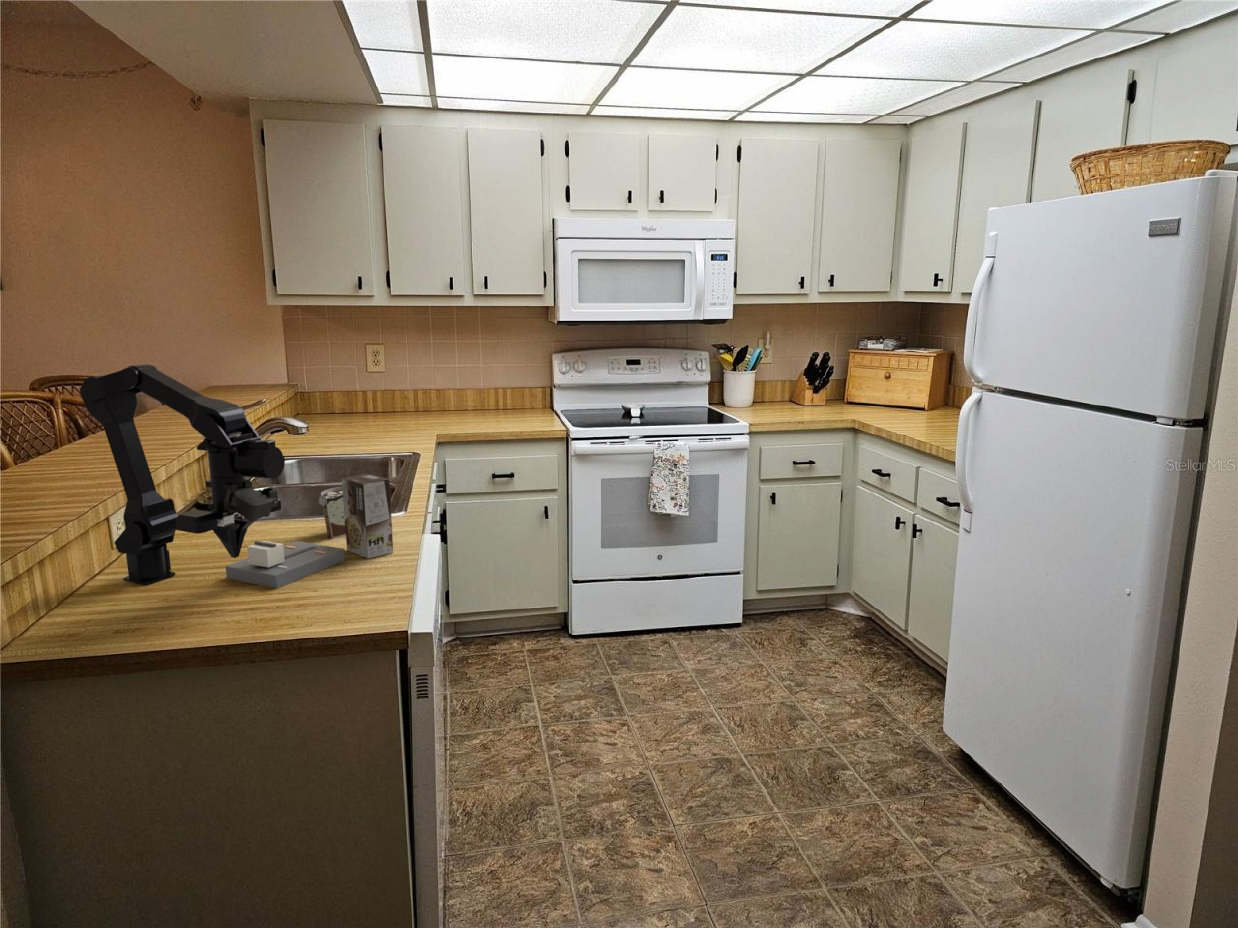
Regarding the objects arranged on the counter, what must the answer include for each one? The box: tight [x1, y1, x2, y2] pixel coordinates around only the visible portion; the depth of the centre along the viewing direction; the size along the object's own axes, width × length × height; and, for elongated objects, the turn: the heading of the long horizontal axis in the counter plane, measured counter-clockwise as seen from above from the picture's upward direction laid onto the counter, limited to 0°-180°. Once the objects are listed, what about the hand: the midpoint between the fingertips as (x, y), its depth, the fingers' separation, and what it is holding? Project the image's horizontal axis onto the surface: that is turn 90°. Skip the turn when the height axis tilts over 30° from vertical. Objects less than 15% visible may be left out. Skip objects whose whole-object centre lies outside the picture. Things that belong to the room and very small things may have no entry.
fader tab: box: [247, 540, 285, 567], centre depth 156 cm, size 4×5×4 cm
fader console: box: [225, 540, 346, 589], centre depth 161 cm, size 18×13×3 cm
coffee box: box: [341, 473, 394, 559], centre depth 172 cm, size 9×6×16 cm
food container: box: [318, 486, 346, 540], centre depth 187 cm, size 12×6×10 cm, turn 144°
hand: (235, 557), depth 150 cm, fingers closed
